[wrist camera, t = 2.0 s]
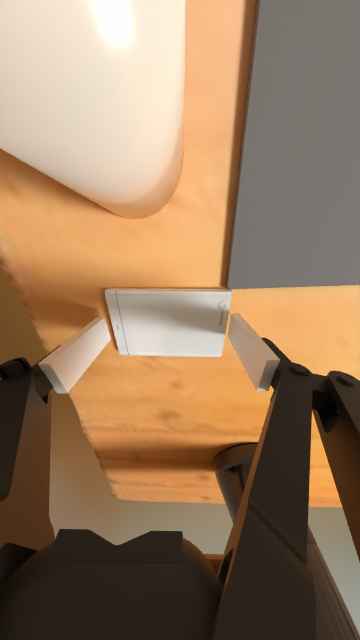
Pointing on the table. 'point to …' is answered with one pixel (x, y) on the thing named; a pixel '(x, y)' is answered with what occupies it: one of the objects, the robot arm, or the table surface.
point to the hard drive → (169, 321)
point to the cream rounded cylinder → (96, 96)
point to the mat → (300, 149)
